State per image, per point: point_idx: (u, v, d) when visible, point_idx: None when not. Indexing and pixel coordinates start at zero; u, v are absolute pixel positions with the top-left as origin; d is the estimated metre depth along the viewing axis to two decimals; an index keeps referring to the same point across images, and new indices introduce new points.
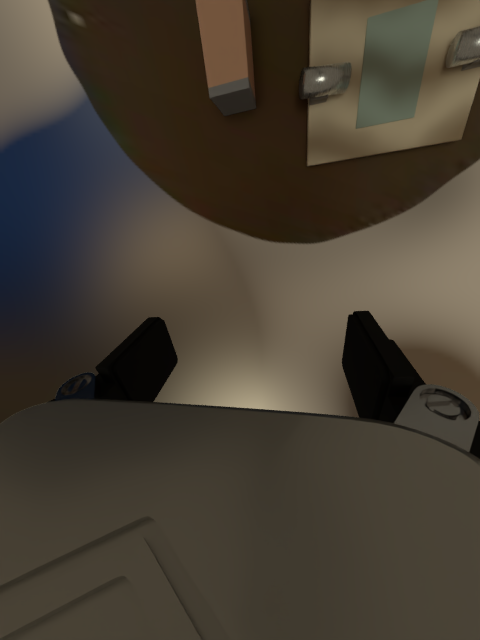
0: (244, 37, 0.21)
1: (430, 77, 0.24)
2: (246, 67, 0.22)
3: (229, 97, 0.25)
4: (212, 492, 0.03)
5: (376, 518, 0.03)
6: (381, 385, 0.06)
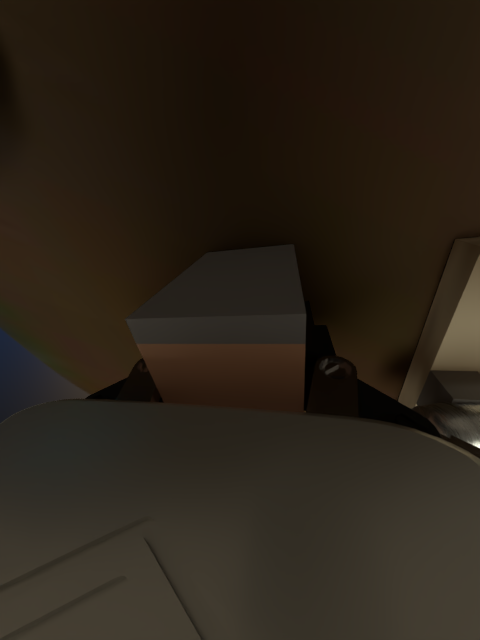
0: None
1: None
2: None
3: None
4: (212, 492, 0.03)
5: (376, 518, 0.03)
6: None
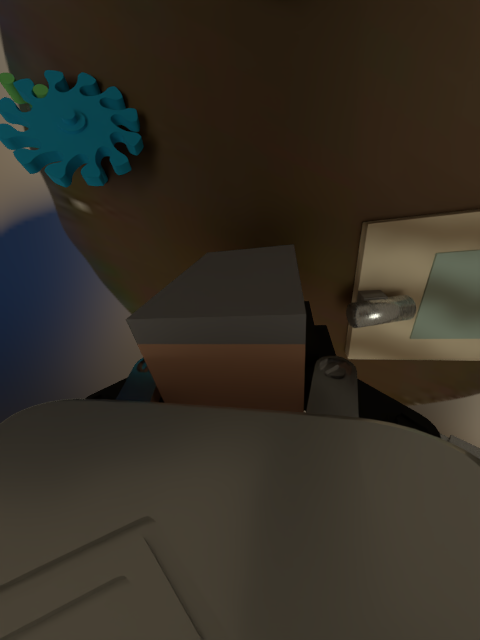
0: None
1: None
2: None
3: None
4: (212, 492, 0.03)
5: (376, 518, 0.03)
6: None
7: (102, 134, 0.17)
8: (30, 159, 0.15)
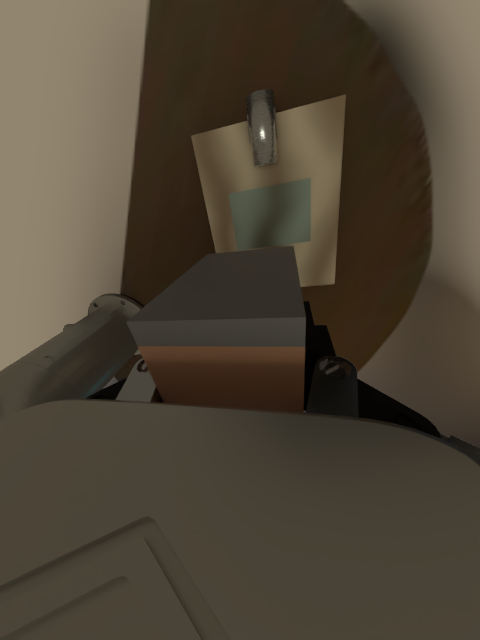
0: None
1: (278, 174, 0.23)
2: None
3: None
4: (212, 492, 0.03)
5: (376, 518, 0.03)
6: None
7: None
8: None
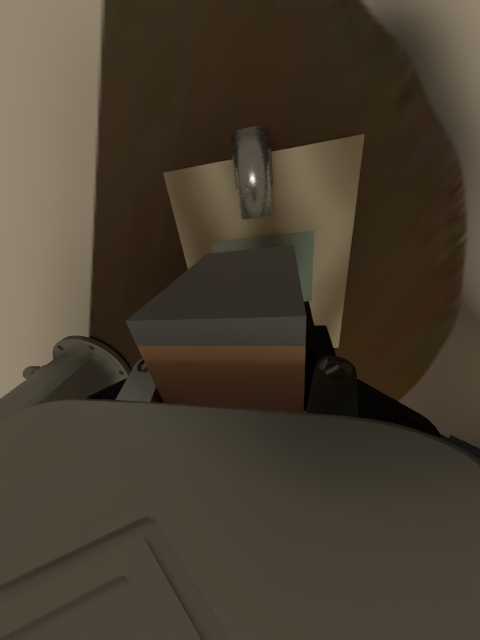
0: None
1: (274, 224, 0.18)
2: None
3: None
4: (212, 492, 0.03)
5: (376, 518, 0.03)
6: None
7: None
8: None
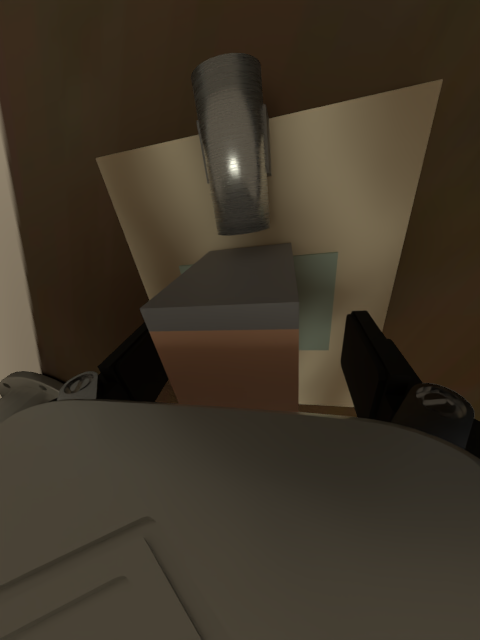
0: (296, 411, 0.08)
1: (273, 240, 0.11)
2: None
3: None
4: (212, 492, 0.03)
5: (376, 518, 0.03)
6: (378, 384, 0.06)
7: None
8: None
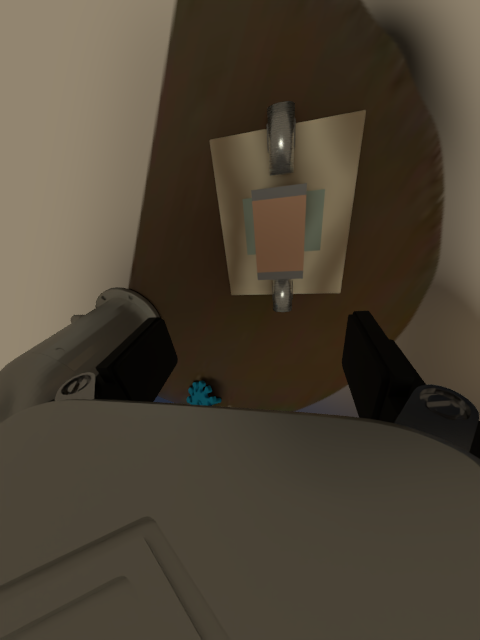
0: (303, 239, 0.19)
1: (293, 183, 0.23)
2: (302, 263, 0.20)
3: None
4: (212, 492, 0.03)
5: (376, 518, 0.03)
6: (381, 385, 0.06)
7: (204, 399, 0.43)
8: None
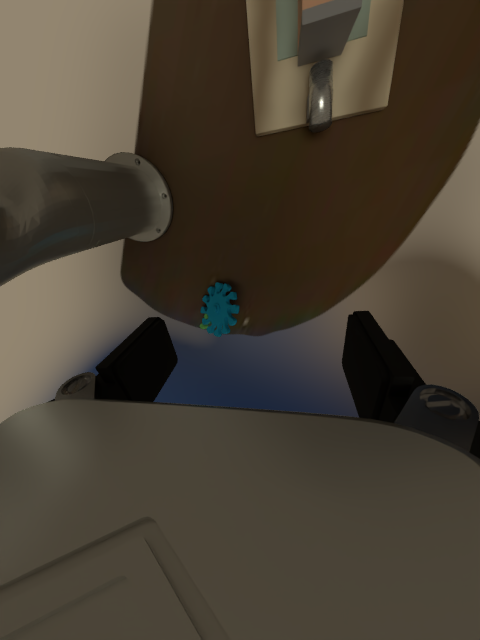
0: None
1: None
2: None
3: (325, 27, 0.18)
4: (212, 492, 0.03)
5: (376, 518, 0.03)
6: (381, 385, 0.06)
7: (222, 298, 0.38)
8: (225, 328, 0.37)
